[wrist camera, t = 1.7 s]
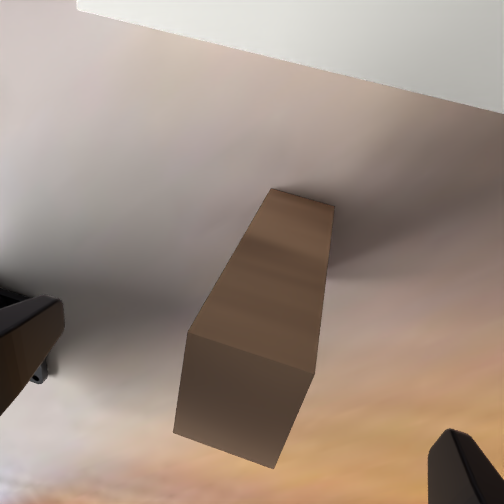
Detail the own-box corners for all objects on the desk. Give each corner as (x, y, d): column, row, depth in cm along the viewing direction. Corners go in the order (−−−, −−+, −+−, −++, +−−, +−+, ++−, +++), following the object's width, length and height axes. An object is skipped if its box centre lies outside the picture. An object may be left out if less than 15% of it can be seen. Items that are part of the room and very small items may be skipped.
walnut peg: (310, 277, 15) (273, 469, 8) (253, 260, 15) (172, 432, 8) (334, 206, 13) (314, 373, 6) (270, 188, 14) (187, 332, 7)
